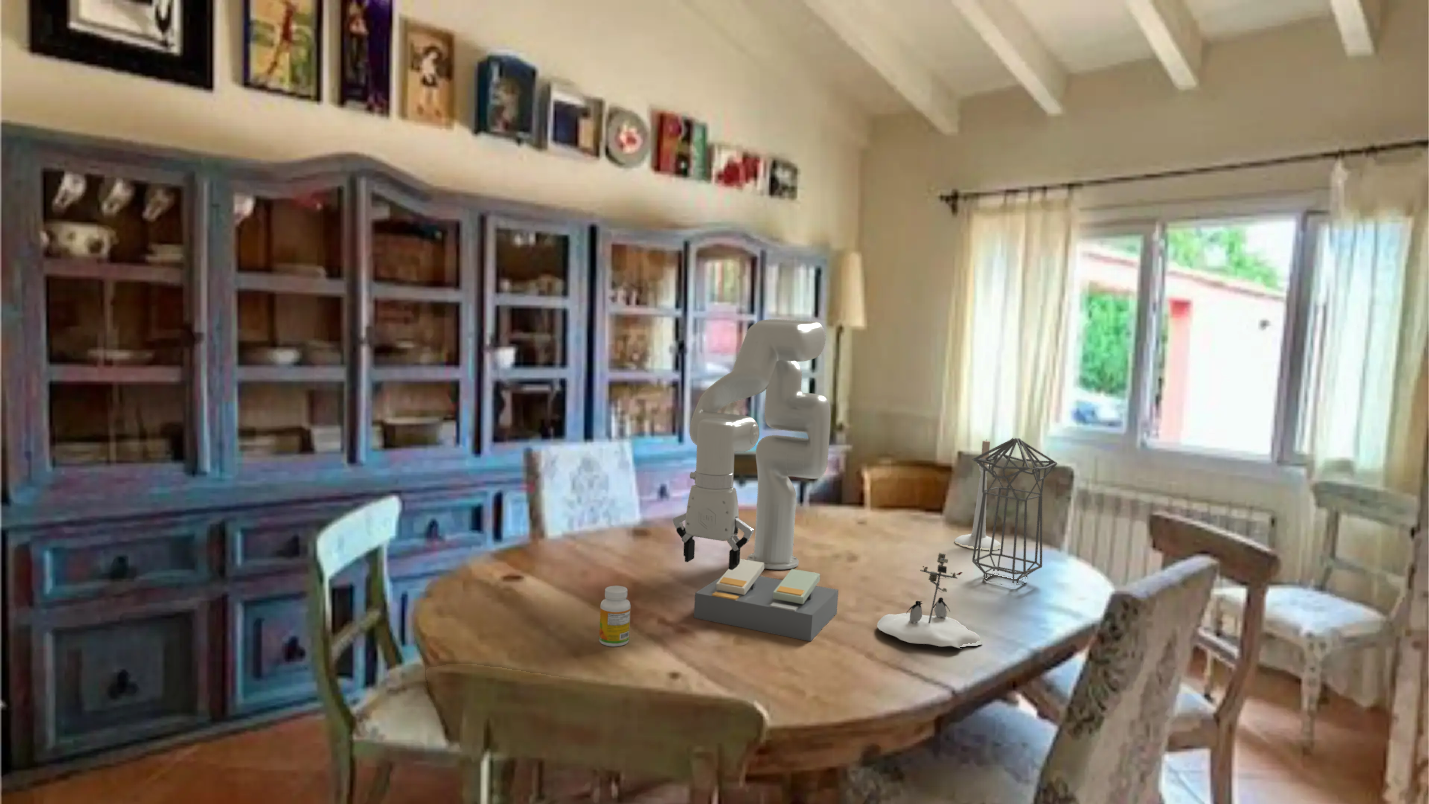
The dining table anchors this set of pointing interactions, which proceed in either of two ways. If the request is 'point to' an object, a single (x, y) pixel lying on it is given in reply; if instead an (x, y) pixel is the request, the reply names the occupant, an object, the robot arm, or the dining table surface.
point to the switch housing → (767, 609)
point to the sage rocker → (796, 586)
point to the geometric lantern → (1007, 447)
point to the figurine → (929, 620)
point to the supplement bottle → (614, 617)
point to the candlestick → (971, 538)
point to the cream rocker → (740, 577)
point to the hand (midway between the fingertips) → (711, 564)
